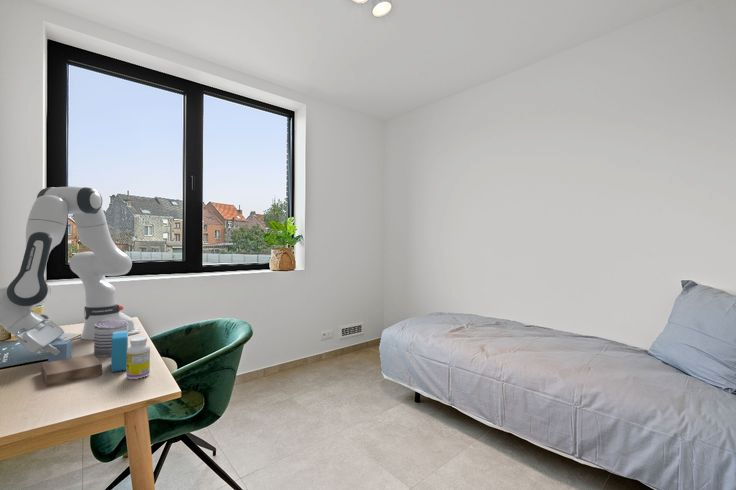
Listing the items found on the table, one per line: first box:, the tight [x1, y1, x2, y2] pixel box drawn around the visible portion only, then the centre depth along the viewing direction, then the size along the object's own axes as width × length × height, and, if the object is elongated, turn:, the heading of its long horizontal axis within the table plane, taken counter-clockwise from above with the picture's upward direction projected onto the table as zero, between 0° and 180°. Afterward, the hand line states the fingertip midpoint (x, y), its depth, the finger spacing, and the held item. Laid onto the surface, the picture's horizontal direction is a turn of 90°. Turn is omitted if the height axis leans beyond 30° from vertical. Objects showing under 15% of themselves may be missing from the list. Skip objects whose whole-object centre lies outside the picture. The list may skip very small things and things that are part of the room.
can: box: [93, 320, 129, 357], centre depth 142 cm, size 11×11×12 cm
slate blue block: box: [47, 339, 73, 362], centre depth 129 cm, size 5×5×8 cm
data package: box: [110, 330, 129, 373], centre depth 127 cm, size 12×4×12 cm, turn 34°
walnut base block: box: [40, 353, 103, 387], centre depth 119 cm, size 14×14×4 cm
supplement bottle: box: [125, 336, 151, 380], centre depth 119 cm, size 7×7×13 cm
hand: (62, 350), depth 130 cm, fingers closed on slate blue block, 5 cm apart
